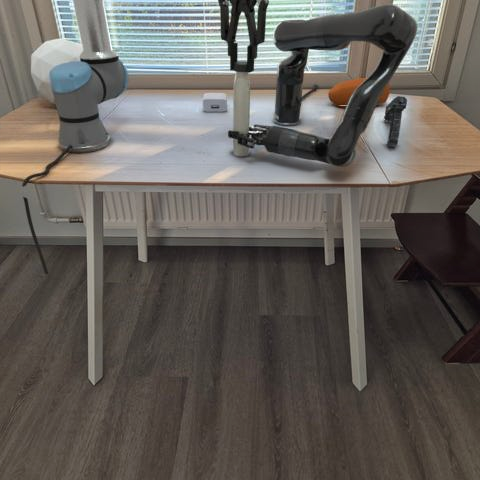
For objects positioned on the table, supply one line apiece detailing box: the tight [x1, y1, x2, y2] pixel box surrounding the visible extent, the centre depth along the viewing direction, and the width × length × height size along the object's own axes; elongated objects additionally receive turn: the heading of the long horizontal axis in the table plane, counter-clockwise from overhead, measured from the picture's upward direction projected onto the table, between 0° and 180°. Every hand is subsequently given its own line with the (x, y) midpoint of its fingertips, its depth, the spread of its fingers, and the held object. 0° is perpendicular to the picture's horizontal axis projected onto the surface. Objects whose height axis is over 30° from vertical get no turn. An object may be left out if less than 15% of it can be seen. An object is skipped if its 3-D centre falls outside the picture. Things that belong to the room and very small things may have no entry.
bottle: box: [232, 71, 251, 157], centre depth 118 cm, size 5×5×25 cm
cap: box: [233, 60, 247, 73], centre depth 110 cm, size 5×5×2 cm
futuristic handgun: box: [383, 95, 408, 147], centre depth 138 cm, size 4×29×15 cm, turn 164°
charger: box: [202, 92, 228, 113], centre depth 163 cm, size 5×9×15 cm
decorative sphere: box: [30, 37, 83, 105], centre depth 157 cm, size 24×25×25 cm
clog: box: [327, 76, 391, 109], centre depth 165 cm, size 12×11×25 cm
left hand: (242, 70), depth 111 cm, fingers closed on cap, 4 cm apart
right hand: (233, 130), depth 122 cm, fingers closed on bottle, 4 cm apart
